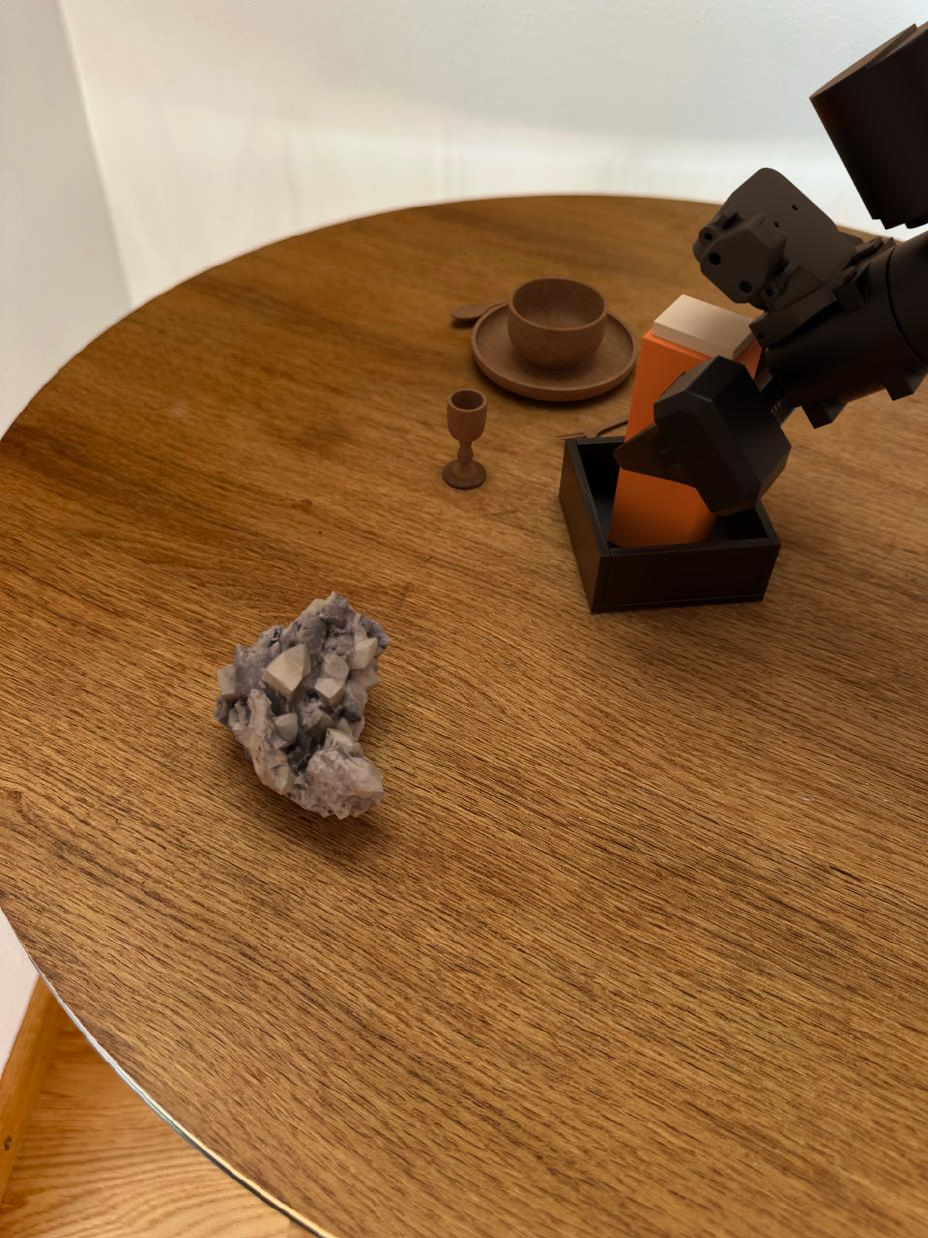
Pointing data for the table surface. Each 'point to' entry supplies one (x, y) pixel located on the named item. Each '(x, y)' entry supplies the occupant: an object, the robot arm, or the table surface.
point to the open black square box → (661, 572)
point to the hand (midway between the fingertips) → (659, 416)
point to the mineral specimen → (308, 707)
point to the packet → (667, 351)
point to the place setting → (539, 358)
